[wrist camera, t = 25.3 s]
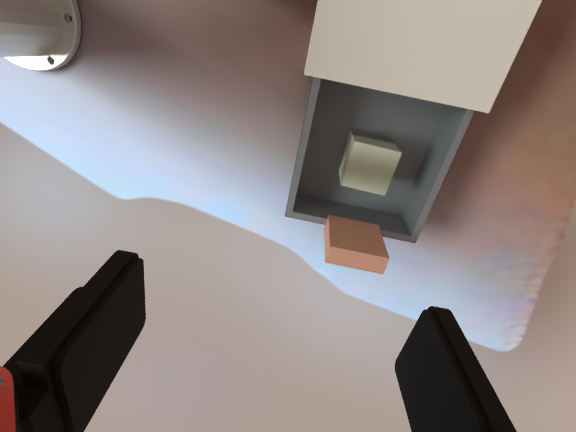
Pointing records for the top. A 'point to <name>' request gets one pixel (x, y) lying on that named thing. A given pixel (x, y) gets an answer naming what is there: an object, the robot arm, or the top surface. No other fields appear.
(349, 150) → the sage block
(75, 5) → the robot arm
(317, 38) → the white drawer housing
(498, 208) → the top surface
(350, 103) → the tray
